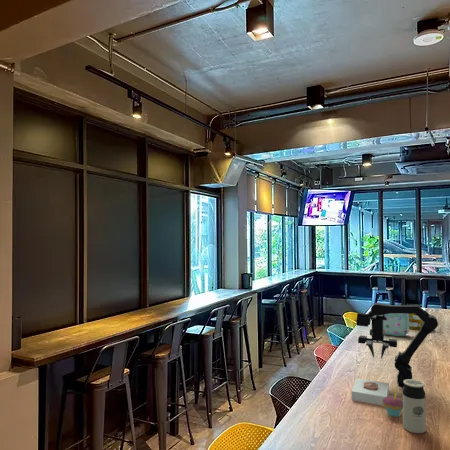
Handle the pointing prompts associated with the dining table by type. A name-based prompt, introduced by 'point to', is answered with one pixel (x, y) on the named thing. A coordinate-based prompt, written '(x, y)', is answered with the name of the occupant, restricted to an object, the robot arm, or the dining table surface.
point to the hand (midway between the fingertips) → (377, 357)
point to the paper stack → (415, 322)
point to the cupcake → (393, 405)
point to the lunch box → (396, 324)
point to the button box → (369, 392)
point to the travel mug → (414, 406)
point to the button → (370, 385)
